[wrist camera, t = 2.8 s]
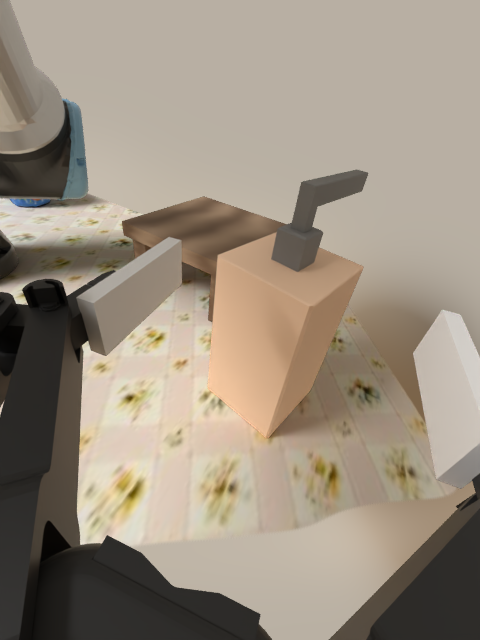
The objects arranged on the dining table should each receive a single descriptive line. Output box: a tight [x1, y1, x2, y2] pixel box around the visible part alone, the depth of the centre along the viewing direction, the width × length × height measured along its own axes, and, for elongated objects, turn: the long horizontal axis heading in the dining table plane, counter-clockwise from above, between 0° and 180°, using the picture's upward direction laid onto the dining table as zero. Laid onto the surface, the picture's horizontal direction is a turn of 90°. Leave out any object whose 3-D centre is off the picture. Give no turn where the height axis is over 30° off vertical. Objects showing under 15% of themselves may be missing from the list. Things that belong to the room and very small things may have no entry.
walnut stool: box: [122, 197, 287, 322], centre depth 46 cm, size 18×18×10 cm
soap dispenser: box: [208, 170, 368, 438], centre depth 28 cm, size 13×9×22 cm
